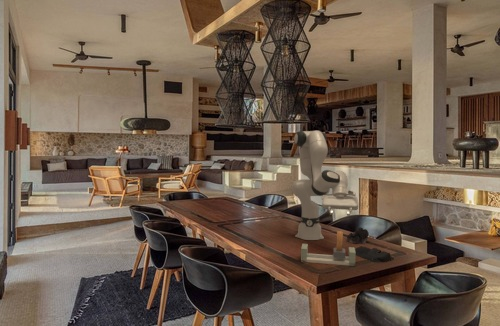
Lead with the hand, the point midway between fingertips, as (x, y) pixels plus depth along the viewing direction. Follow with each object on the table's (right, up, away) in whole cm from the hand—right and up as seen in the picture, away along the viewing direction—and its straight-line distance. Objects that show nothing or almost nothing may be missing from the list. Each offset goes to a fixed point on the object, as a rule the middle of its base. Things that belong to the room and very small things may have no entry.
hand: (339, 214), depth 211 cm
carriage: (-3, -21, -10) cm, 23 cm away
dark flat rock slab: (+18, -24, +2) cm, 31 cm away
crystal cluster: (+19, -22, +33) cm, 44 cm away
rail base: (-9, -24, -9) cm, 27 cm away
